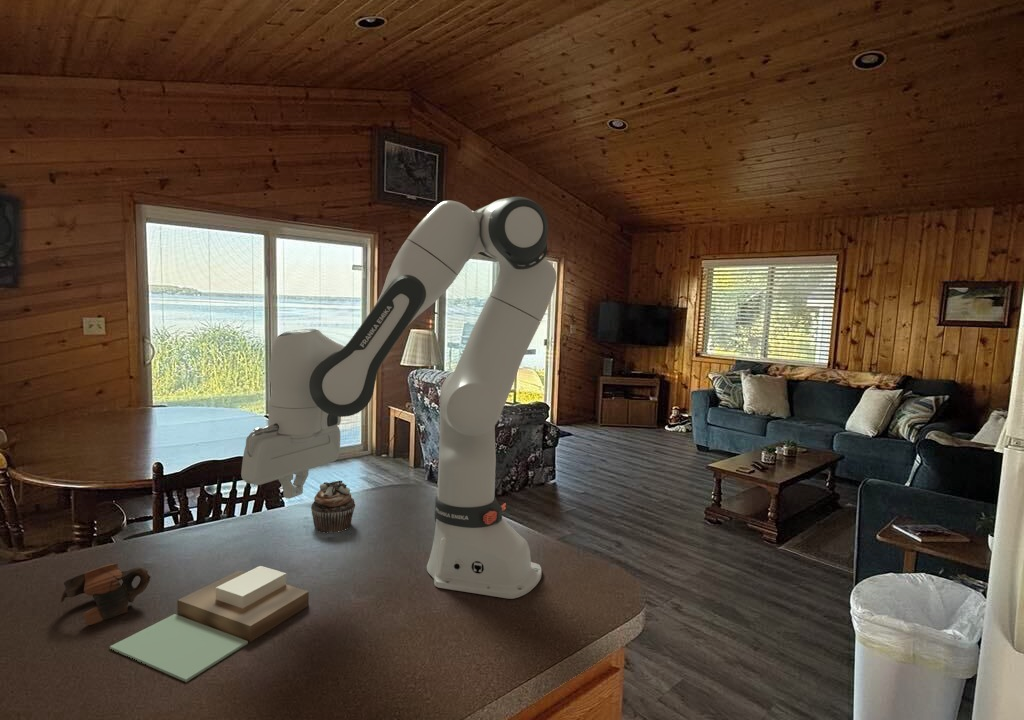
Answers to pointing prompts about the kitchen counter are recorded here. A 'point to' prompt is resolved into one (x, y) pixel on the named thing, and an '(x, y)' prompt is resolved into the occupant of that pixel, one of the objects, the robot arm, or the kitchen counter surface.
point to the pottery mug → (107, 590)
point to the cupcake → (332, 507)
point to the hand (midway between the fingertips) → (293, 496)
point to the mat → (179, 647)
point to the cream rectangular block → (250, 586)
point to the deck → (242, 609)
